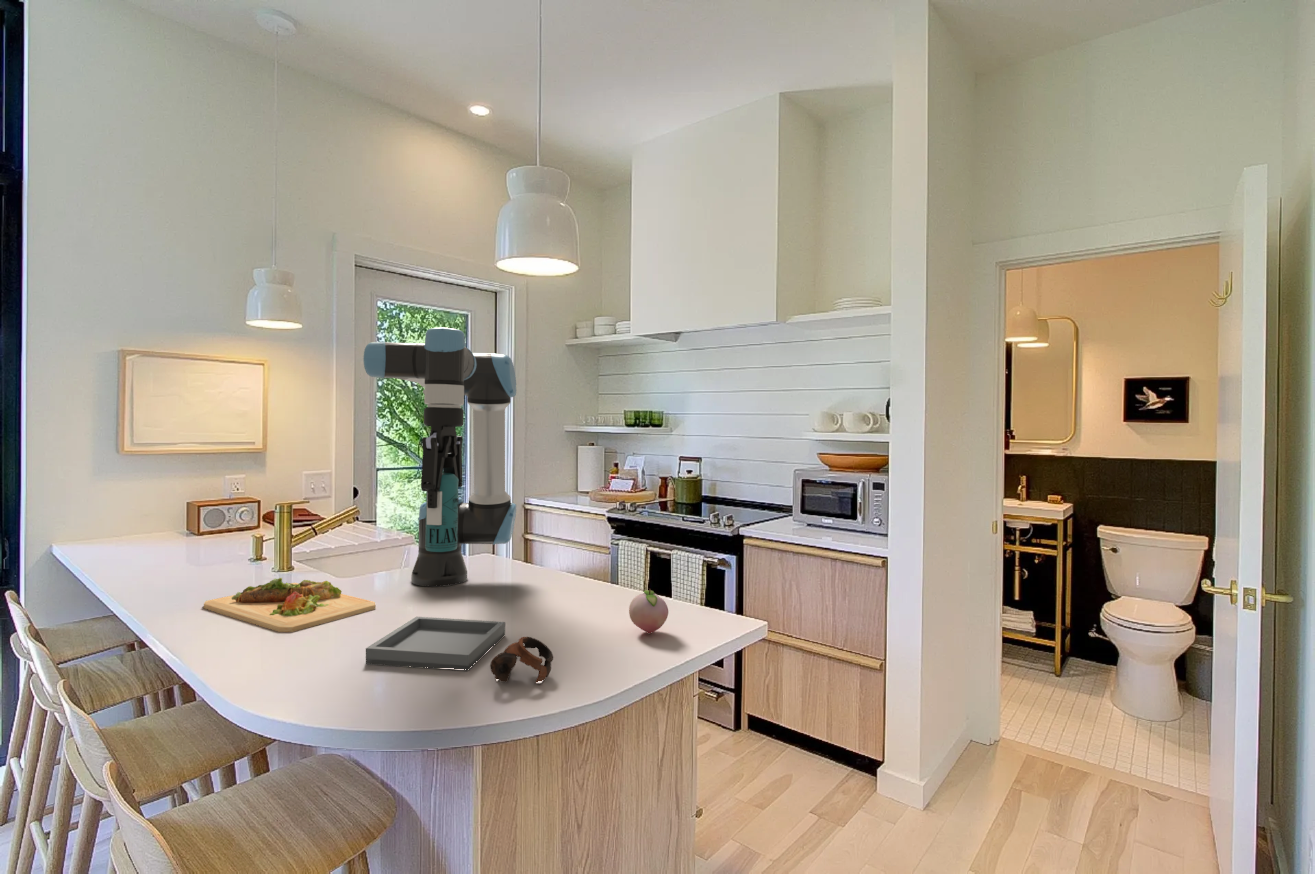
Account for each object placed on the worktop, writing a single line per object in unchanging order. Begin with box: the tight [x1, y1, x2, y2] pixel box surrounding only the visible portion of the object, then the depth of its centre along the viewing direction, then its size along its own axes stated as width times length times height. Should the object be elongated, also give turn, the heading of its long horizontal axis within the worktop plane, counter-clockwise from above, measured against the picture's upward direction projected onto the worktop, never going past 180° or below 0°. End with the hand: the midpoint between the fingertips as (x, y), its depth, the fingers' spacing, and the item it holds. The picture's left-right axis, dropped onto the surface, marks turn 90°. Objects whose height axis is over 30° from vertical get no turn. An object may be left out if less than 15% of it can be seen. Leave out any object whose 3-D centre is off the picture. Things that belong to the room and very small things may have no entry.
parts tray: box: [365, 616, 506, 670], centre depth 131 cm, size 20×20×3 cm
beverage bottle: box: [424, 457, 460, 552], centre depth 131 cm, size 6×7×20 cm
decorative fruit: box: [628, 588, 669, 634], centre depth 144 cm, size 9×8×10 cm
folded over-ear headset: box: [489, 636, 554, 683], centre depth 116 cm, size 12×10×8 cm
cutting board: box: [203, 577, 377, 633], centre depth 157 cm, size 35×23×8 cm
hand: (442, 521), depth 131 cm, fingers closed on beverage bottle, 6 cm apart
